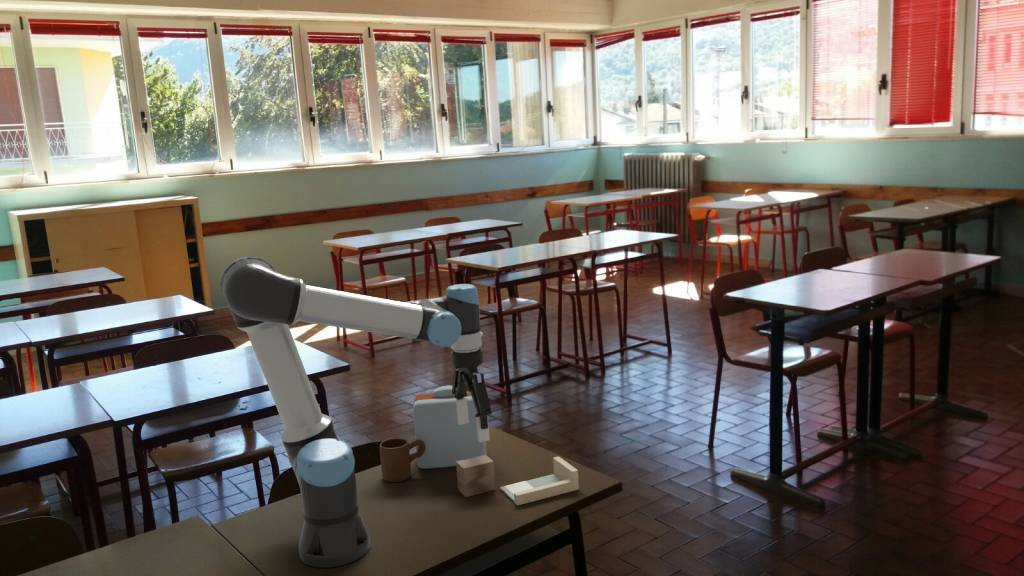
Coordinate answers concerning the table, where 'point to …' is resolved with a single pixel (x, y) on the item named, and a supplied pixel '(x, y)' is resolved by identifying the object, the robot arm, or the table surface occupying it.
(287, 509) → the table surface
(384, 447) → the mug
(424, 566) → the table surface
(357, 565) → the table surface
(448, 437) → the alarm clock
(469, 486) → the block
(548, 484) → the toy stand
